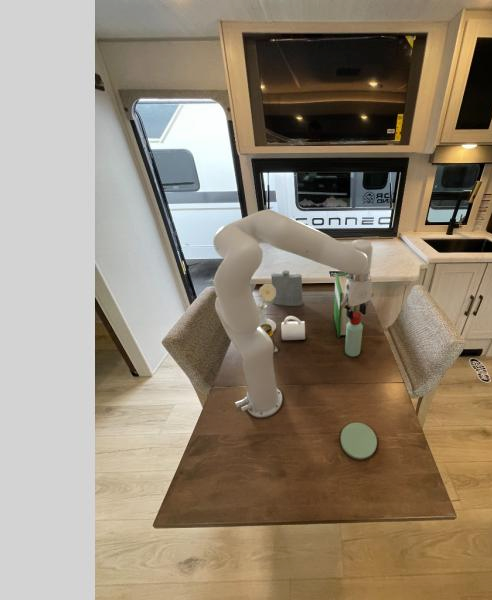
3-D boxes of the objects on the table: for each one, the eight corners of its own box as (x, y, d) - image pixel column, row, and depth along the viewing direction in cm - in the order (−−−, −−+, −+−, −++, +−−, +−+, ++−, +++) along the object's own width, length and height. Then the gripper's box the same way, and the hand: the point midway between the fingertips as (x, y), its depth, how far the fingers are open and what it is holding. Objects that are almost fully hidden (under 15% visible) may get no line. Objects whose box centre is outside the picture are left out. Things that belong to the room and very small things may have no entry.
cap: (353, 326, 104) (354, 318, 102) (348, 321, 107) (348, 313, 105) (362, 323, 106) (362, 315, 104) (355, 318, 109) (356, 310, 107)
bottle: (350, 358, 111) (353, 322, 101) (341, 349, 116) (343, 313, 105) (363, 353, 114) (367, 317, 103) (353, 344, 118) (357, 309, 108)
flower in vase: (253, 339, 121) (245, 292, 108) (251, 325, 130) (243, 280, 117) (281, 334, 124) (277, 288, 111) (278, 320, 133) (273, 276, 120)
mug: (305, 343, 119) (304, 321, 113) (282, 344, 119) (280, 322, 112) (305, 331, 126) (304, 310, 120) (283, 332, 125) (281, 311, 119)
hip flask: (303, 302, 148) (301, 270, 137) (302, 306, 144) (300, 273, 134) (275, 301, 149) (271, 269, 138) (273, 305, 145) (269, 272, 135)
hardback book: (353, 336, 123) (357, 292, 110) (338, 337, 122) (340, 292, 110) (348, 314, 138) (350, 273, 125) (333, 315, 137) (335, 273, 124)
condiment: (278, 350, 115) (276, 329, 108) (260, 358, 111) (256, 336, 105) (271, 341, 120) (268, 320, 114) (253, 348, 116) (249, 326, 110)
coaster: (354, 467, 75) (355, 465, 74) (333, 434, 83) (333, 432, 82) (384, 447, 79) (384, 445, 79) (361, 418, 88) (361, 416, 87)
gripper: (345, 285, 88) (343, 327, 98) (384, 273, 96) (378, 313, 106) (333, 276, 94) (332, 317, 104) (371, 265, 101) (367, 304, 111)
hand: (356, 314), depth 105 cm, fingers open, 5 cm apart
